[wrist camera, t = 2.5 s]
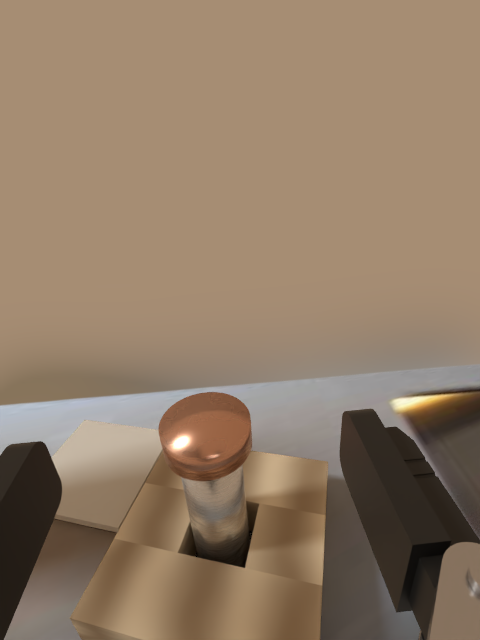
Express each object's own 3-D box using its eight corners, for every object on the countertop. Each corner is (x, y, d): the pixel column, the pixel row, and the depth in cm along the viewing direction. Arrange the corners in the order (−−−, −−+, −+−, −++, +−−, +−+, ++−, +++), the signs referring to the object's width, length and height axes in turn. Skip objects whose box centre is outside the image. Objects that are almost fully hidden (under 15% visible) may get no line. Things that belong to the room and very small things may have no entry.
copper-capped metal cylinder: (178, 587, 29) (141, 449, 22) (203, 517, 34) (180, 388, 27) (252, 605, 27) (237, 464, 20) (266, 529, 32) (258, 396, 26)
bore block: (85, 646, 26) (69, 618, 24) (175, 466, 39) (169, 439, 38) (315, 720, 22) (317, 692, 20) (326, 490, 35) (328, 461, 34)
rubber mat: (13, 509, 36) (10, 504, 36) (86, 424, 46) (84, 419, 46) (120, 533, 33) (118, 527, 33) (173, 436, 43) (172, 431, 43)
